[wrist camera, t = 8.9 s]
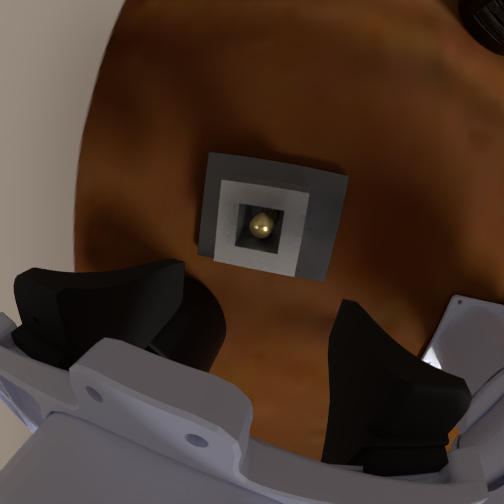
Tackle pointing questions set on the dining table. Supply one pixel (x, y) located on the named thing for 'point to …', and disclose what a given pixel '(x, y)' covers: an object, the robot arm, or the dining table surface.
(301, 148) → the dining table surface
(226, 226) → the gray square hollow block
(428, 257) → the dining table surface
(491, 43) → the supplement bottle
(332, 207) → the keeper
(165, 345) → the mug
